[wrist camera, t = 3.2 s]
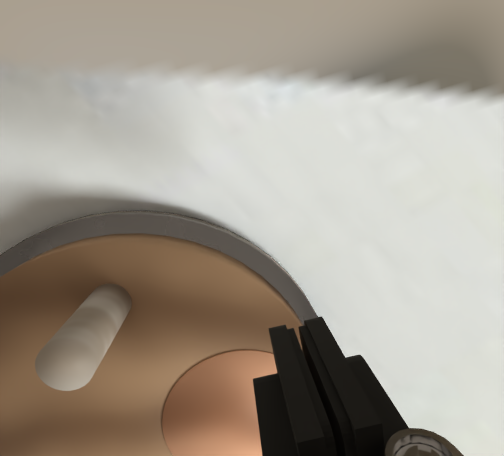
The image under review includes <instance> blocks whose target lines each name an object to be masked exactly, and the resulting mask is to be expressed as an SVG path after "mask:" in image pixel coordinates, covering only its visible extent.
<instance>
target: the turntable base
mask: <svg viewBox="0 0 504 456" xmlns="http://www.w3.org/2000/svg"><path fill="white" fill-rule="evenodd" d="M133 233H143V234H153V235H164V236H171V237H175V238H180V239H184V240H189V241H193V242H196V243H199V244H202V245H205V246H207V247H210V248H213V249H216V250H219V251H221V252H223V253H225V254H227V255H229V256H231V257H232V258H234V259H236V260H238V261H240V262H242V263H244V264H245V265H246V266H248V267H249V268H251V269H252V270H254V271H255V272H257V273H258V274H260V275H261V276H262V277H263V278H264V279H266V280H267V281H268V282H269V283H270V284H271V285H272V286H273V287H274V288H276V289H277V290H278V291H279V292H280V293H281V295H282V296H283V297H284V298H285V299H286V301H287V302H288V303H289V304H290V305H291V307H292V308H293V309H294V311H295V312H296V314H297V316H298V317H299V319H300V321H301V322H302V324H303V325H304V320H308V319H313V318H317V317H318V316H317V315H316V313H315V311H314V309H313V308H312V306H311V304H310V303H309V301H308V299H307V298H306V296H305V294H304V292H303V291H302V289H301V288H300V287H299V286H298V285H297V283H296V282H295V281H294V280H293V278H292V277H291V276H290V275H289V273H288V272H287V271H286V270H285V269H284V268H282V267H281V266H280V265H279V264H278V263H277V262H276V261H275V260H274V259H273V258H272V257H271V256H269V255H268V254H267V253H265V252H264V251H262V250H261V249H260V248H258V247H257V246H255V245H254V244H253V243H251V242H250V241H248V240H246V239H244V238H242V237H240V236H238V235H236V234H235V233H233V232H231V231H229V230H227V229H225V228H222V227H219V226H216V225H214V224H211V223H208V222H206V221H203V220H200V219H196V218H191V217H187V216H183V215H179V214H174V213H165V212H155V211H115V212H108V213H101V214H95V215H89V216H85V217H82V218H78V219H75V220H71V221H68V222H64V223H61V224H59V225H57V226H54V227H52V228H50V229H47V230H45V231H43V232H40V233H38V234H36V235H34V236H32V237H30V238H27V239H26V240H24V241H22V242H21V243H19V244H17V245H16V246H14V247H13V248H11V249H9V250H8V251H6V252H4V253H3V254H1V255H0V277H1V276H3V275H4V274H6V273H8V272H9V271H11V270H13V269H14V268H16V267H18V266H19V265H21V264H23V263H25V262H26V261H28V260H30V259H31V258H33V257H35V256H37V255H39V254H42V253H44V252H46V251H49V250H51V249H53V248H56V247H58V246H60V245H64V244H67V243H71V242H74V241H78V240H81V239H85V238H90V237H97V236H104V235H110V234H133Z"/></svg>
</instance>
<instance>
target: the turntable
mask: <svg viewBox="0 0 504 456" xmlns="http://www.w3.org/2000/svg"><path fill="white" fill-rule="evenodd" d="M281 325H286V327H287V329H290V328H294V330H295V333H296V336H297V338H298V341H299V343H300V346H301V349H302V345H301V340H300V334H299V326H303V324H302V322H301V321H300V319H299V317H298V316H297V314H296V312H295V311H294V309H293V308H292V307H291V305H290V304H289V303H288V302H287V301H286V299H285V298H284V297H283V296H282V295H281V293H280V292H279V291H278V290H277V289H276V288H274V287H273V286H272V285H271V284H270V283H269V282H268V281H267V280H266V279H264V278H263V277H262V276H261V275H260V274H258V273H257V272H255V271H254V270H252V269H251V268H249V267H248V266H246V265H245V264H244V263H242V262H240V261H238V260H236V259H234V258H232V257H231V256H229V255H227V254H225V253H223V252H221V251H219V250H216V249H213V248H210V247H207V246H205V245H202V244H199V243H196V242H193V241H189V240H184V239H180V238H175V237H171V236H164V235H153V234H143V233H133V234H110V235H104V236H97V237H90V238H85V239H81V240H78V241H74V242H71V243H67V244H64V245H60V246H58V247H56V248H53V249H51V250H49V251H46V252H44V253H42V254H39V255H37V256H35V257H33V258H31V259H30V260H28V261H26V262H25V263H23V264H21V265H19V266H18V267H16V268H14V269H13V270H11V271H9V272H8V273H6V274H4V275H3V276H1V277H0V456H262V448H261V440H260V433H259V425H258V417H257V409H256V402H255V394H254V386H253V379H254V378H258V377H262V376H267V375H271V374H276V373H277V369H276V364H275V359H274V354H273V349H272V344H271V339H270V334H269V329H268V328H272V327H276V326H281Z"/></svg>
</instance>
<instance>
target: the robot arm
mask: <svg viewBox="0 0 504 456" xmlns="http://www.w3.org/2000/svg"><path fill="white" fill-rule="evenodd" d="M268 329H269V334H270V339H271V344H272V349H273V354H274V359H275V364H276V369H277V373H276V374H271V375H267V376H262V377H258V378H254V379H253V386H254V394H255V402H256V409H257V417H258V425H259V433H260V440H261V448H262V456H464V455H463V454H462V453H461V452H460V451H459V450H458V449H457V448H456V447H455V446H454V445H452V444H451V443H450V442H449V441H448V440H447V439H445V438H444V437H442V436H440V435H438V434H436V433H434V432H431V431H428V430H424V429H417V428H408V426H407V424H406V423H405V421H404V420H403V418H402V417H401V415H400V414H399V412H398V411H397V409H396V407H395V406H394V404H393V403H392V401H391V400H390V398H389V397H388V395H387V394H386V392H385V390H384V389H383V387H382V386H381V384H380V383H379V381H378V380H377V378H376V377H375V375H374V373H373V372H372V370H371V369H370V367H369V366H368V364H367V363H366V361H365V360H364V358H363V357H362V356H361V355H356V356H351V357H347V358H345V356H344V355H343V353H342V351H341V349H340V348H339V346H338V344H337V342H336V341H335V339H334V337H333V335H332V333H331V332H330V330H329V328H328V326H327V325H326V323H325V321H324V319H323V318H322V317H317V318H313V319H308V320H304V325H303V326H299V334H300V340H301V345H302V349H301V346H300V343H299V341H298V338H297V336H296V333H295V330H294V328H290V329H287V327H286V325H281V326H276V327H272V328H268Z"/></svg>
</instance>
